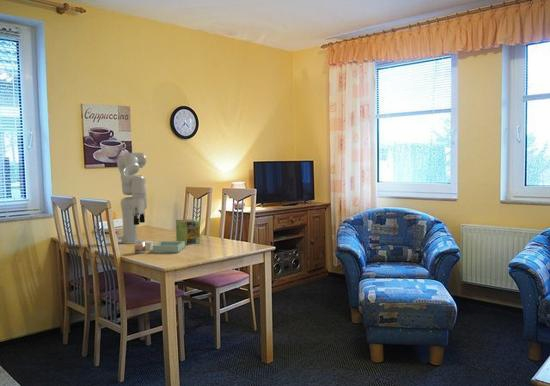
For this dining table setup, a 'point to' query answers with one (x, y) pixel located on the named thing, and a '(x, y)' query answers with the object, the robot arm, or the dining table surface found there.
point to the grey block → (149, 245)
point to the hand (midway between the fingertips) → (139, 223)
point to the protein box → (188, 231)
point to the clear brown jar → (139, 247)
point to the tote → (168, 247)
